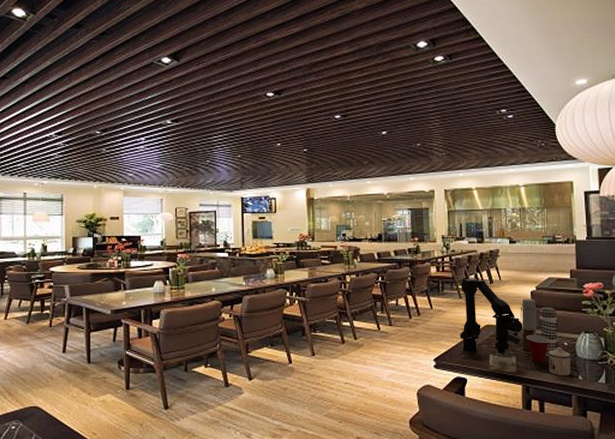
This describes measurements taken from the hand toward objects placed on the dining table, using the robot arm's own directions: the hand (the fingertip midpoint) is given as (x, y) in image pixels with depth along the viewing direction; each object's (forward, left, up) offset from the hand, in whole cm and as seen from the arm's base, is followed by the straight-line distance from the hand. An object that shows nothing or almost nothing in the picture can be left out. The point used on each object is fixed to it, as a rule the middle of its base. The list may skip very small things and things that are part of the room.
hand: (502, 358), depth 223 cm
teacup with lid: (+25, -9, -2) cm, 27 cm away
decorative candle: (+23, +23, -2) cm, 33 cm away
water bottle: (+14, +47, -2) cm, 50 cm away
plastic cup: (+17, +8, -2) cm, 19 cm away
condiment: (+13, +26, -2) cm, 30 cm away
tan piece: (0, -6, -2) cm, 6 cm away
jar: (0, -7, -2) cm, 7 cm away
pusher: (0, -12, -1) cm, 12 cm away
